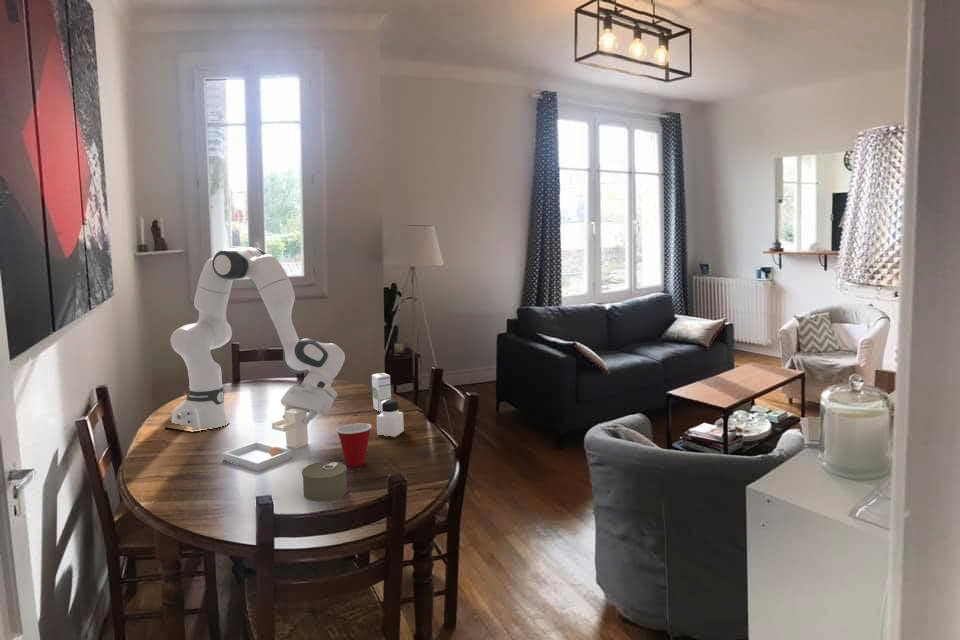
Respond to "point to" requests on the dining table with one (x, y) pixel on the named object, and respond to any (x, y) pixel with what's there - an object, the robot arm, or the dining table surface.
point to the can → (324, 481)
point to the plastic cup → (354, 443)
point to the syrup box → (380, 389)
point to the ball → (274, 451)
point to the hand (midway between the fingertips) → (294, 421)
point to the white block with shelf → (293, 427)
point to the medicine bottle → (390, 419)
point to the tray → (256, 456)
